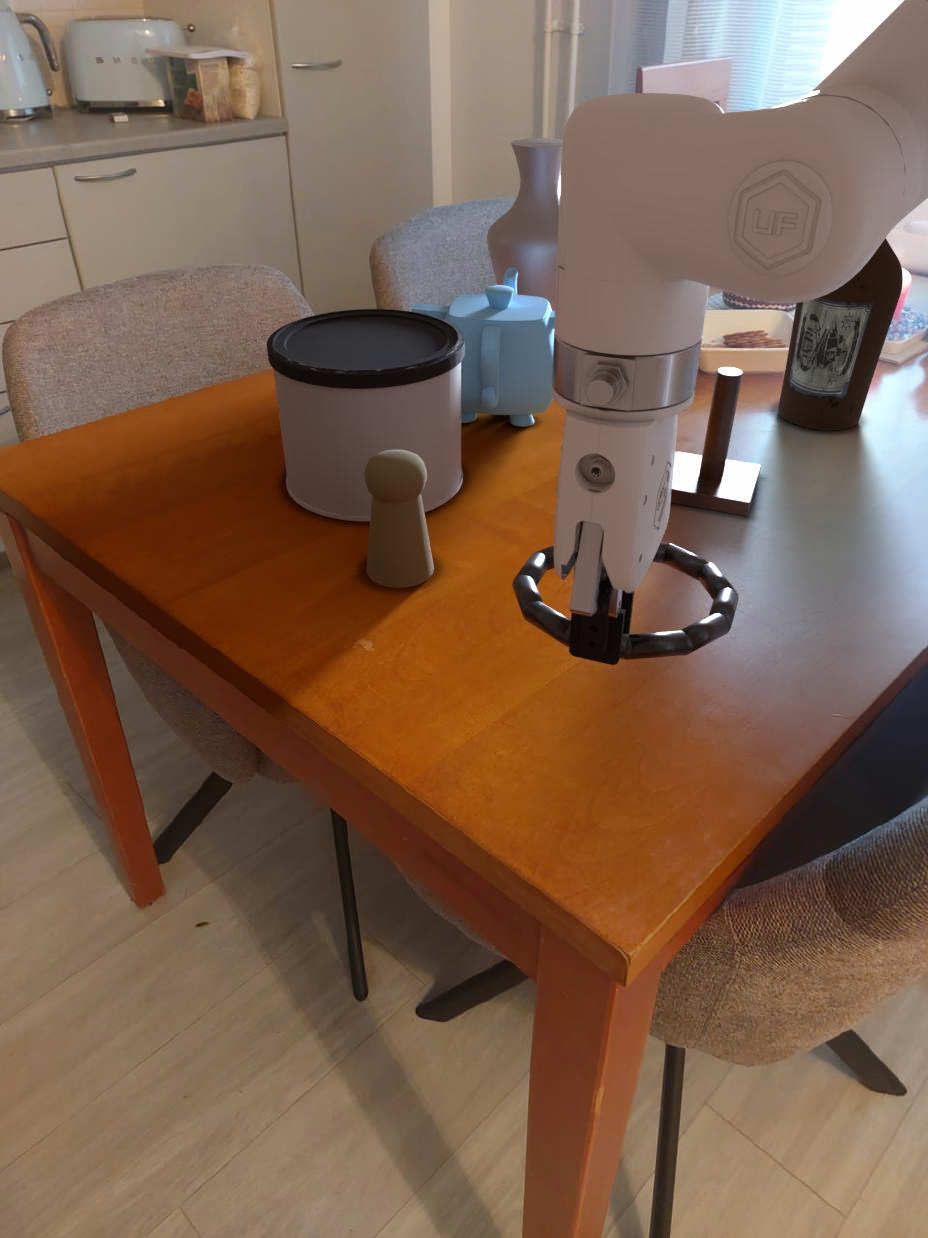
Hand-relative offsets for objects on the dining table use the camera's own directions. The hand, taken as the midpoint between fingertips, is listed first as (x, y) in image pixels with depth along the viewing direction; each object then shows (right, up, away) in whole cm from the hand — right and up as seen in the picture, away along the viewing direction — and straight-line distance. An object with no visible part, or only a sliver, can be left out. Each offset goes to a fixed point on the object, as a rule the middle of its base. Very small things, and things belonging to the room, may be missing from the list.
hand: (599, 646), depth 57 cm
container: (-18, +16, +37) cm, 44 cm away
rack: (+17, +15, +35) cm, 42 cm away
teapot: (-4, +28, +53) cm, 61 cm away
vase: (+2, +45, +77) cm, 89 cm away
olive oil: (+34, +26, +50) cm, 66 cm away
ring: (+3, +4, +5) cm, 7 cm away
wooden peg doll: (-14, +6, +23) cm, 27 cm away
